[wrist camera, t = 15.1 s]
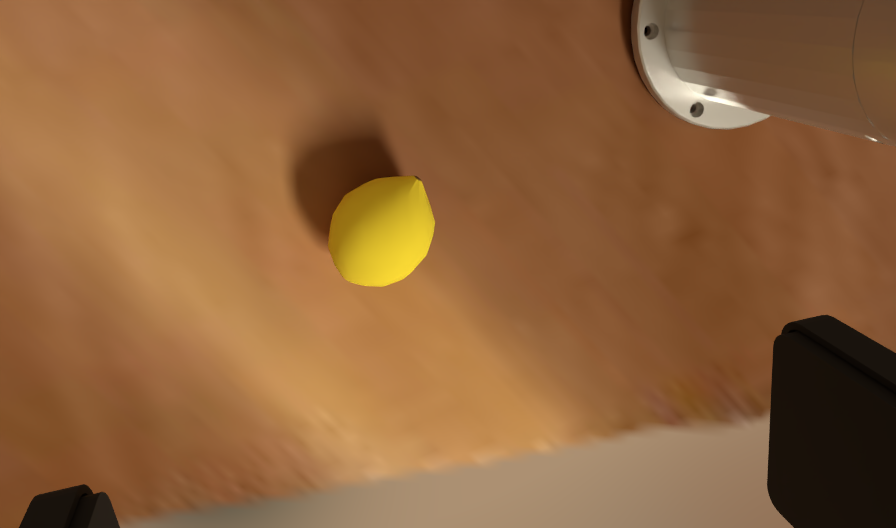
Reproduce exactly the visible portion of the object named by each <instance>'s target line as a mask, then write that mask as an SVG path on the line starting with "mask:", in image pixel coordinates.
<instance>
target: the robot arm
mask: <svg viewBox="0 0 896 528" xmlns="http://www.w3.org/2000/svg"><path fill="white" fill-rule="evenodd" d="M645 27H647V33H646V34H645V35H644V29H645ZM631 42H632V48H633V54H634V60H635V62H636V65H637V68H638V71H639V74H640V76H641V79H642V81H643V82H644V84H645V85H646V87H647V89H648V90H649V92H650V94H651V95H652V96H653V97H654V98H655V100H656V101H657V102H658V103H659V104H660V105H661V106H662V107H663V108H664V109H665V110H667V111H668V112H670V113H671V114H673V115H674V116H676V117H677V118H679V119H681V120H684V121H687V122H689V123H692V124H694V125H698V126H702V127H706V128H710V129H734V128H740V127H745V126H749V125H752V124H754V123H757V122H759V121H762V120H764V119H766V118H768V117H770V116H775V117H779V118H783V119H787V120H791V121H795V122H799V123H803V124H807V125H811V126H815V127H819V128H823V129H827V130H831V131H835V132H839V133H843V134H847V135H851V136H855V137H859V138H863V139H867V140H871V141H875V142H879V143H882V144H886V145H891V146H896V0H634V3H633V9H632V14H631ZM691 106H692V110H691V111H690V109H691ZM767 480H768V481H767V487H768V493H769V496H770V499H771V501H772V503H773V505H774V506H775V508H776V509H777V510H778V511H779V513H780V514H781V515H782V516H783V517H784V518H785V519H786V520H787V521H788V522H789V523H790V524H791V525H792V526H793V527H794V528H896V353H894V352H893V351H891V350H889V349H887V348H886V347H884V346H882V345H881V344H879V343H877V342H875V341H874V340H872V339H870V338H868V337H867V336H865V335H863V334H861V333H860V332H858V331H856V330H855V329H853V328H851V327H849V326H848V325H846V324H844V323H842V322H841V321H839V320H837V319H836V318H834V317H831V316H829V315H821V316H816V317H812V318H808V319H803V320H799V321H794V322H790V323H788V324H787V325H785V326H784V328H783V330H782V333H781V335H779V336H778V337H776V339H775V341H774V346H773V366H772V388H771V411H770V434H769V457H768V479H767ZM19 528H120V526H119V524H118V521H117V518H116V515H115V512H114V510H113V507H112V504H111V501H110V499H109V497H108V495H107V494H106V493H104V492H100V493H96V494H93V492H92V490H91V489H90V488H89V487H88V486H87V485H84V484H83V485H79V486H74V487H70V488H66V489H61V490H57V491H53V492H48V493H44V494H39V495H37V496H35V497H34V498H33V500H32V501H31V503H30V505H29V507H28V509H27V512H26V514H25V516H24V518H23V520H22V522H21V524H20V527H19Z"/></svg>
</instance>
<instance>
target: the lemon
mask: <svg viewBox="0 0 896 528" xmlns="http://www.w3.org/2000/svg"><path fill="white" fill-rule="evenodd" d="M434 226H435V221H434V217H433V214H432V210H431V206H430V203H429V200H428V197H427V195H426V192H425V189H424V187H423V184H422V181H421V180H420V179H419V178H418V177H417V176H398V177H386V178H377V179H374V180H371V181H369V182H367V183H364V184H362V185H361V186H359V187H357V188H356V189H354V190H352V191H351V192H349V193H347V194H346V195H345V196H344V197H343V199H342V200H341V202H340V204H339V205H338V207H337V208H336V210H335V211H334V213H333V216H332V220H331V225H330V233H329V241H328V248H329V251H330V253H331V256H332V259H333V262H334V264H335V266H336V268H337V269H338V271H339V272H340V274H341V275H342V277H343V278H345V279H346V280H347V281H349V282H352V283H355V284H359V285H363V286H382V287H383V286H386V285H389V284H391V283H394V282H397V281H400V280H403V279H404V278H405V277H406V276H407V275H409V274H410V273H411V272H412V271H413V270H414V269H415V267H416V266H417V265H418V264H419V263H420V262H421V261H422V260H423V259H424V257H425V256H426V255H427V252H428V249H429V246H430V243H431V240H432V237H433V234H434Z"/></svg>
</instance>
